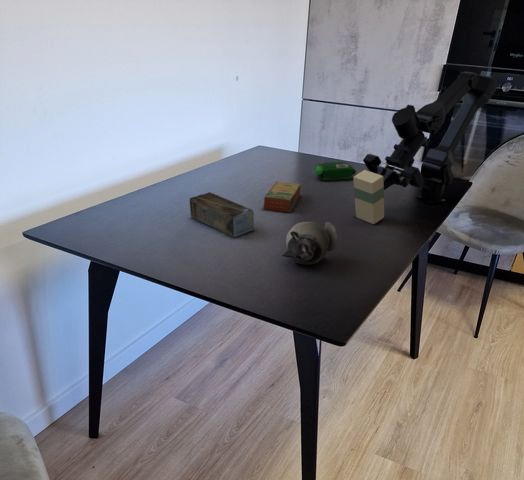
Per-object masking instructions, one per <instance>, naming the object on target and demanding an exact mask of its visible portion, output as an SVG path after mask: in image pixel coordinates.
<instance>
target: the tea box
mask: <svg viewBox="0 0 524 480" xmlns="http://www.w3.org/2000/svg"><path fill="white" fill-rule="evenodd" d="M352 178H353V195H354V205H355V218H357V219H358V220H359V219H360V220H362V221H364V222H367V223H370V224H372V225H375V224H377V223H379V221H381V220H382V219H384V218H385V190H384V182H383V176H382V175H379V174H376V173H372V172H370V171H369V170H366V169H364V170H362V171H360V172H359V173H356V174H355V175H353V176H352Z"/></svg>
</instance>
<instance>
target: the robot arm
mask: <svg viewBox="0 0 524 480" xmlns="http://www.w3.org/2000/svg"><path fill="white" fill-rule="evenodd" d="M497 89H498V81H497V78H496V77H495V76H492V75H485V74H477V72H470V71H461V72H460V73H459V74H458V75H457V78H456V79H455V80H454V81H453V82H452V83H451V84H450V85H449V86H448V87H447V88H446V89H445V91H443V92H442V93H441V94H440V96H438V97H437V99H436V100H434V101H433V102H430V103H427V104H425V105H423V106H422V107H421V108H419V109H418V110H417V111H416V108H415V105H412V104H407V105H406V106H405V107H403V108H400V109H398V110H397V111H395V112H394V113H393V114H392V117H391V123H392V125H393V127H394V129H395V131H396V133H397V135H398V137H399V138H400V142H399V143H398V144H397V143H395V144H394V145H393V149H394V150H393V151H392V153H391V154H390V155H389V156H388V155H386V156H385V158H384V161H382V160H381V157H380V156H379V155H375V154H373V153H367V154H366V155H365V156H364V158H363V159H362V161H363V163H364V165H365V167H366V169H367V171H369V172H372V173H376V174H379V175H382V176H383V182H384V191H385V190H387V189H388V188H390V187H391V186H393V185H396V186H401V187H402V188H407V187H408V186H409V185H410V186H412V187H415V188H420V187H421V185H422V184H423V186H422V189H421V193H420V195H418V196H417V198H418V199H419V200H421V201H423V202H425V203H427V204H429V205H432V204H440V203H446V202H447V201H446V199H444V196H445V195H444V194H445V191H446V188H447V187H446V186H450V185H451V184H452V183H453V180H454V178H455V176H454V173H453V170H452V166H453V164H454V159H453V158H454V155H453V154H454V153H455V151H456V149H457V147H458V145H459V143H460V141H461V140H462V138H463V136H464V134H465V133H466V131H467V129H468V128H469V125H470V124H471V123H472V120H473V119H474V117H475V115H476V113H477V111H479V109H481V108H482V107H483V106H485V105H486V104H487V103H489V101H490V100H491V98H492V97H493V95H494V94H495V93H496V91H497ZM461 100H463V101H462V104H461V105H460V106H459V109H458V111H457V113H456V114H455V116H454V118H453V119H452V121H451V123H450V125H449V126H448V129H447V131H446V132H445V134H444V136H443V137H442V139H441V141H440V143H439V145H438V146H437V147H435V148H429V149H428V151H427V152H426V155H425V157H424V158H423V160H422V162H421V165H420V168H419V167H417V166H413V165H414V164H415V156H416V155H417V154H418V152H419V151H420V149H421V148H422V147H423V148H427V147H428V136H426V135H425V133H426V134H431V135H434V134H436V133H438V132H439V130H440V129H441V127H442V126H443V125H444V124H445V122H446V121H445V120H446V116H447V114H448V113H449V112H450V111H451V110H452V109H453V108H454V107H455V106H456V105H457V104H458V103H459V102H460V101H461ZM423 182H424V183H423Z"/></svg>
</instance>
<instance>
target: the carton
mask: <svg viewBox="0 0 524 480" xmlns="http://www.w3.org/2000/svg"><path fill="white" fill-rule="evenodd" d="M301 186H302V185H301V184H300V183H297V182H296V183H295V182H288V181H287V182H286V181H276V182H274V184H273V186H271V188H269V191H268V192H266V194H265V195H264V199H263V210H265V211H272V212H280V213H291V212H292V210H293V208H294V207H295V205H296V203H297V201H298V199H299V198H300V197H301Z"/></svg>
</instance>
